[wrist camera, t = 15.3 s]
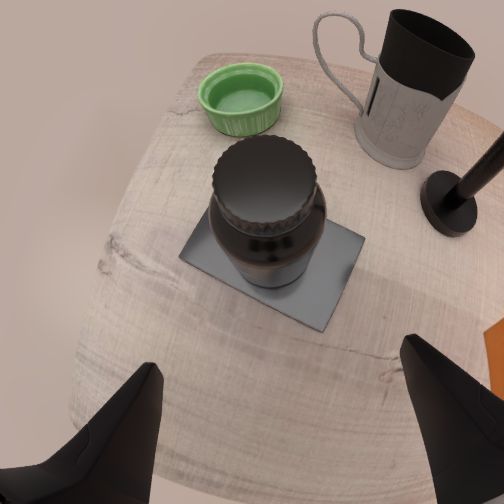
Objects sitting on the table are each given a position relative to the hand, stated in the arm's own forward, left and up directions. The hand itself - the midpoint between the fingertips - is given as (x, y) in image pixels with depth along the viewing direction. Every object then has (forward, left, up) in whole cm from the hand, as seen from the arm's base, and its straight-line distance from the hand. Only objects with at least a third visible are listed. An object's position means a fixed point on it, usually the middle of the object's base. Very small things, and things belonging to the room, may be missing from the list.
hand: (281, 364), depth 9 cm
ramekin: (+11, +22, -14) cm, 28 cm away
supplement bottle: (+4, +7, -13) cm, 15 cm away
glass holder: (+21, +12, -14) cm, 28 cm away
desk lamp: (+22, 0, -14) cm, 26 cm away
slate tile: (+4, +7, -14) cm, 16 cm away
